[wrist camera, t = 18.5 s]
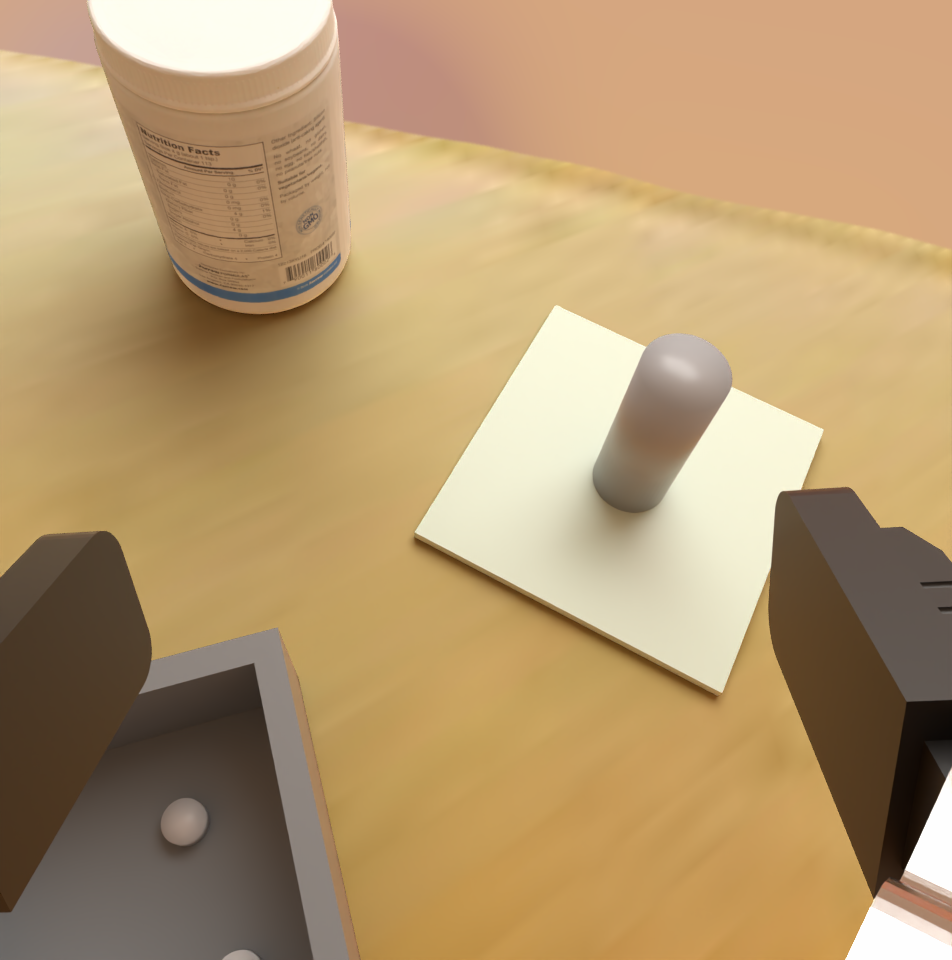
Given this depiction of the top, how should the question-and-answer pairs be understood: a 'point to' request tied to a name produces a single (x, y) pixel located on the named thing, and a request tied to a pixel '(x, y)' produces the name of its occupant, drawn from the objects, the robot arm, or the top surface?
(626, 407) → the lid
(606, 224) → the top surface
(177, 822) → the parts box
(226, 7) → the supplement tub
